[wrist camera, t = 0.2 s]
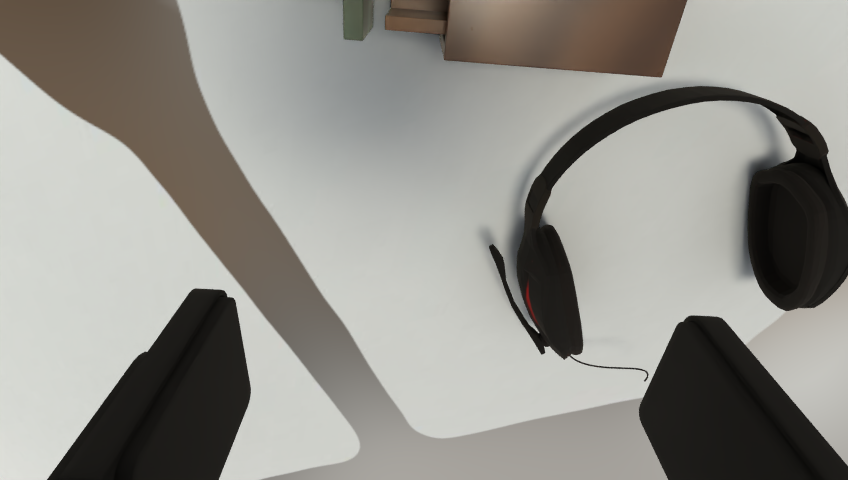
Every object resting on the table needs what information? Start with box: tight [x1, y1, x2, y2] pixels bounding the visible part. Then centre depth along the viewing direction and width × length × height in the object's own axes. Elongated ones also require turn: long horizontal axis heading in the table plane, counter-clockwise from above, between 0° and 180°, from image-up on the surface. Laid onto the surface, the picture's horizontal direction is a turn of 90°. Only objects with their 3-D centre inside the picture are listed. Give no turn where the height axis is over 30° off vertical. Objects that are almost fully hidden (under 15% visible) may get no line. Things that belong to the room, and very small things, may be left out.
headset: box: [489, 86, 848, 381], centre depth 40 cm, size 28×26×9 cm
